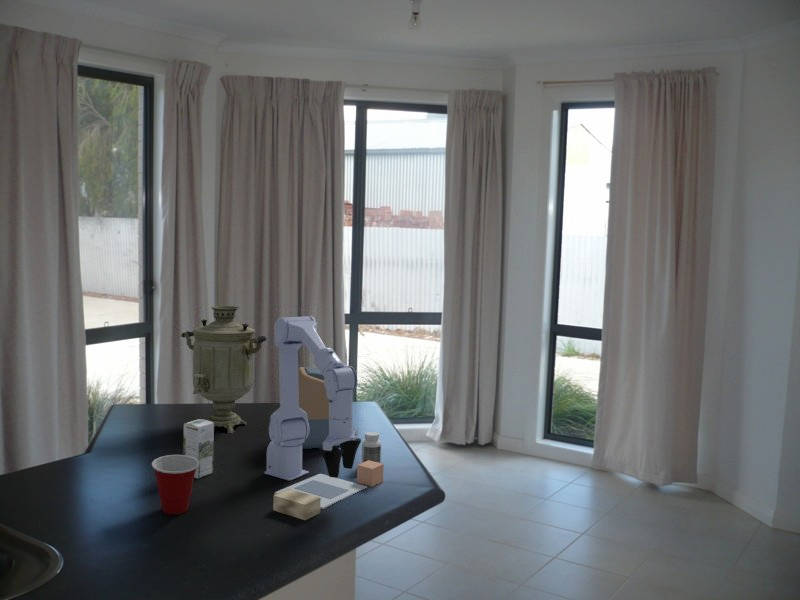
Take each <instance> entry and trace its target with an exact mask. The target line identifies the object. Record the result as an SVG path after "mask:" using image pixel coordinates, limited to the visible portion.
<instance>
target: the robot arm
mask: <svg viewBox="0 0 800 600" xmlns="http://www.w3.org/2000/svg"><path fill="white" fill-rule="evenodd" d="M273 329H274V331H273V335H274V337H273V338H274V346H275V347H277V348H278V360H279V361H278V366H279V368H278V370H279V371H278V372H279V408H277V409H276V410H275V411H274V412H273V413H272V414H271V415H270V417H269V420H270V421H269V425H268V426H269V427H268V435H269V438H270V440H271V441H270V442H269V443H268V446H267V447H266V471H265V470H264V474H265V475H268V476H272V477H276V478H279V479H283V480H286V481H290V482H291V481H292V480H295V479H297V478H300V477H303V476H305V475H308V474H309V473H310V471H308V470H306V469H303V449H302V443H304V442H305V439H306V438H307V437H308V435H309V430H310V429H309V423H308V419H307V413H306V412H305V411H303V410H302V409H301V408H299V387H298V369H299V353H298V352H299V350H300V348H301V347H302V346H303V345H304V346H305V347H306V348H307V349H308V350H309V352H310V353H311V354H312V355H313V363H314V364H313V365H315V368H318V369H319V371H320V372H321V374H322V375H323V376H324V378H325V379H324V385H325V388H326V396H327V398H328V399H329V435H328V436H327V438H326V440H325V441H324V442H323V447H321V448H319V453H320V454H321V457H322V458H323V460H324V463H325V466H326V470H327V473H328V476H329V477H334V478H339V474H340V467H341V460H342V467H343V469H349V470H351V469H353V468H354V467H353V466H354V463H355V459H356V458H355V457H356V454H357V452H358V448H359V446H360V444H362V439H361V438H359V437H358V433H359V432H358V428H353V424H354V423H353V422H354V421H353V419H354V418H353V415H354V414H353V411H354V410H353V404H354V403H353V399H354V398H353V397H354V396H353V392H354V390H355V389H356V388H357V386H358V374H357V372H356V369H355V368H354V367H353V366H352V365H348V364H344V362H343V361H342V360H341V358H340V357H339V356H338V355H337V353H336V352H335V350H334V349H333V348H331V347H326V345H325V344H324V342H323V340H322V338H321V337H320V335H319V333H318V323H317V321H316V319H315V317H314V316H312V315H305V316H304V315H303V316H290V317H282V316H280V317H278V318H277V319H276V321H275V323H274V327H273ZM337 445H339V447H340V449H339V448H338V446H337Z"/></svg>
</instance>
